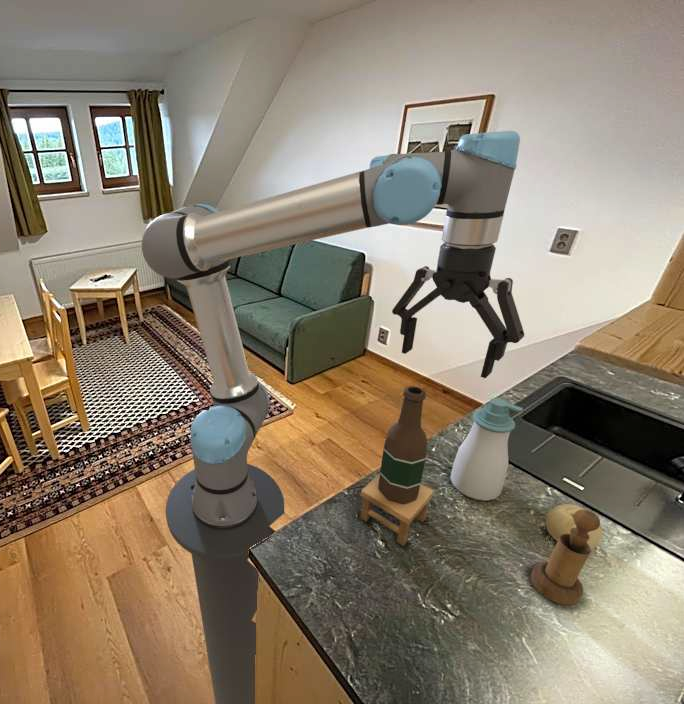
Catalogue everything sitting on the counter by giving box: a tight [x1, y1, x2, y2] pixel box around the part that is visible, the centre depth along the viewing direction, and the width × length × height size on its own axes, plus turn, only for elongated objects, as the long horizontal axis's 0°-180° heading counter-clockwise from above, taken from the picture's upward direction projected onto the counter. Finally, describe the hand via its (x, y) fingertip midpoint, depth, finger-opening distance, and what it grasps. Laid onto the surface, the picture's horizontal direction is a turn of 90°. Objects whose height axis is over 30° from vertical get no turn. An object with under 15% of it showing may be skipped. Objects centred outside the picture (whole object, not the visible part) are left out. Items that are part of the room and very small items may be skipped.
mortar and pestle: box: [530, 508, 601, 607], centre depth 65 cm, size 7×6×18 cm
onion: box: [544, 503, 603, 550], centre depth 75 cm, size 8×8×8 cm
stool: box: [359, 472, 435, 547], centre depth 82 cm, size 10×10×8 cm
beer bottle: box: [378, 385, 428, 505], centre depth 75 cm, size 8×8×24 cm
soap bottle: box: [450, 397, 524, 502], centre depth 85 cm, size 10×10×23 cm
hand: (443, 362), depth 72 cm, fingers open, 13 cm apart
